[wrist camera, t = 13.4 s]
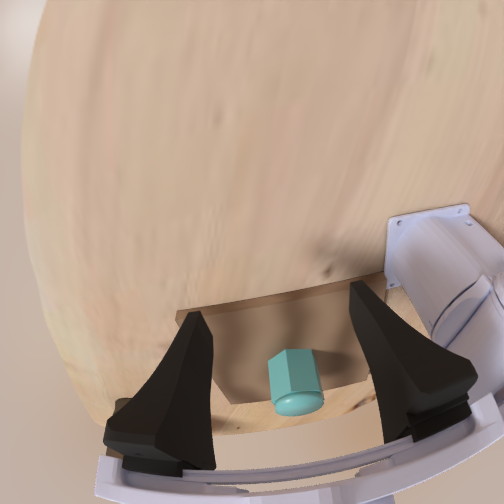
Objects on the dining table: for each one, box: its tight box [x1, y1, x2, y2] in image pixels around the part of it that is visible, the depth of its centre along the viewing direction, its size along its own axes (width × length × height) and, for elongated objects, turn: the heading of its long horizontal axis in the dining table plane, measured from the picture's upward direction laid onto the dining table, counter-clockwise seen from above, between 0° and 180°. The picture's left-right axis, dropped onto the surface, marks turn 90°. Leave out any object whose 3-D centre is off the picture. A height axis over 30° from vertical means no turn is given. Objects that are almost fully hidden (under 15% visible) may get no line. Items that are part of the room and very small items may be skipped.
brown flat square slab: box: [175, 272, 387, 404], centre depth 30 cm, size 20×20×1 cm
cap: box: [268, 349, 324, 416], centre depth 28 cm, size 5×6×6 cm
